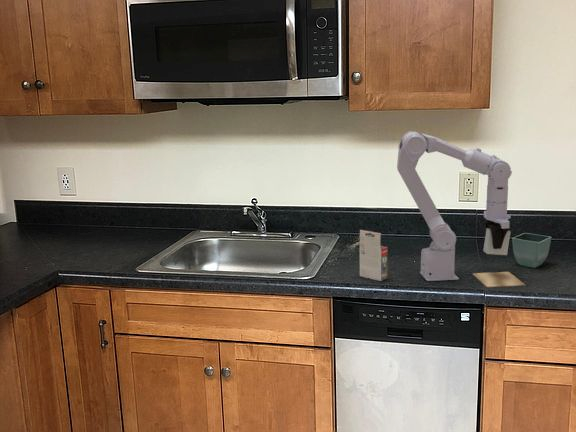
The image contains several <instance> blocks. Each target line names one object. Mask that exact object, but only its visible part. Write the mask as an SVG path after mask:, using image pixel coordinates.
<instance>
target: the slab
mask: <svg viewBox="0 0 576 432" xmlns="http://www.w3.org/2000/svg"><path fill="white" fill-rule="evenodd" d="M510 237H511V231H510V230H508V232H507V233H506V235H505V238H504V241H503V244H502V247H501V249H494V248H493V243H492V234H491V231H490V228H487V229H486V230H485V237H484V244H483V252H484V253H485V254H486V255H497V256H498V255H499V256H507V255H508V250H509V243H510Z"/></svg>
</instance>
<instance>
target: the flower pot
mask: <svg viewBox="0 0 576 432" xmlns="http://www.w3.org/2000/svg"><path fill="white" fill-rule="evenodd" d="M511 239H512V240H511V243H512V251H513V256H514V258H515V261H516V262H517V263H518V265H519V266H521V267H522V266H523V267H528V268H533V269H535V268H538V267H539V266H540V267H541V265H543V263H544V262H545V261H546V258H547V257H548V254H549V251H550V247H551V242H552V236H549V235H542V234H536V233H529V232H523V233H521V234H519V235H516V236H514V237H512V238H511Z"/></svg>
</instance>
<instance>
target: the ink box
mask: <svg viewBox="0 0 576 432" xmlns="http://www.w3.org/2000/svg"><path fill="white" fill-rule="evenodd" d="M367 234H370V235H367ZM371 235H374V236H371ZM359 277H361V278H364V279H368V278H369V280H373V281H378V282H382V281H385V280H388V246H383V245H382V233H381V232H376V231H372V230H364V229H359Z"/></svg>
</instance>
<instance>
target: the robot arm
mask: <svg viewBox="0 0 576 432" xmlns="http://www.w3.org/2000/svg"><path fill="white" fill-rule="evenodd" d="M425 152H426V153H428V154H431V153H434V152H437V153H440V154H442V155H446V156H448V157H452V158H454V159H456V160H459V161H461V163H462V166H463V167H464V168H467V169H469V170H471V171H474V172H476V173H478V174H480V175H483V176H487V188H486V207H485V208H486V209H485V210H484V211H483V218H485V220H484V221H482V225H483V227H484V230H485V231H486V229H487V228H490V231H491V234H492V243H493V248H494V249H501V247H502V244H503V241H504V238H505V235H506V233H507V232H508V231H510V229H511V226H510V219H511V218H512V217H511V215H510V214H508V199H509V196H508V195H509V178H511V176H512V172H513V171H512V170H511V169H512V168H511V166H510V164H509V163H508V162H507V161H505V160H502V159H501V158H499V157H498V156H497V155H495V154H492V155H490V154H488V153H486V152H483V151H482V149H481V148H479V147H476V148H473V147H472V148H468V149H467V150H466V149H463V148H461V147H459V146H456V145H455V144H452V143H449V142H447V141H445V140H443V139H440V138H439V137H436V136H433V135H431V134H430V135H429V134H427V133H421V134H420V133H419V132H418V131H415V130H409V131H406V132H405V133H404V134H403V135H402V137H401V139H400V141H399V142H398V152H397V163H396V168H397V171H398V174H399V175H400V177H401V178H402V180H403V182H404V184H405V186H406V187H407V190H408V191H409V193H410V195H411V197H412V199H413V200H414V202H415V204H416V206H417V208H418V209H419V212H420V213H421V215H422V217H423V219H424V220H425V222H426V224H427V227H428V228H429V236H430V238H431V239H432V241H431V242H430V244H429V247H425V248H422V249H421V250H420V251H421V253H420V272H419V274H420V275H421V276H422V277H423V278H424V280H426V281H427V282H435V281H457V280H459V279H460V278H459V277H458V276H457V275H456V273H455V259H456V258H455V257H456V256H455V255H456V242H457V236H456V234H455V232H454V231H453V230H452V229H451V226H450V225H449V224H448V223H446V222H445V221H444V218H443V217H442V216H441V214H440V212H439V211H438V208H437V207H436V205H435V203H434V201H433V199H432V198H431V195H430V194H429V191H428V190H427V189H426V187H425V184H424V183H423V181H422V179H421V178H420V175H419V173H418V172H417V170H416V167H417V165H418V162H419V161H420V160H419V159H421V158H422V156H423V155H424V154H425Z"/></svg>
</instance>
